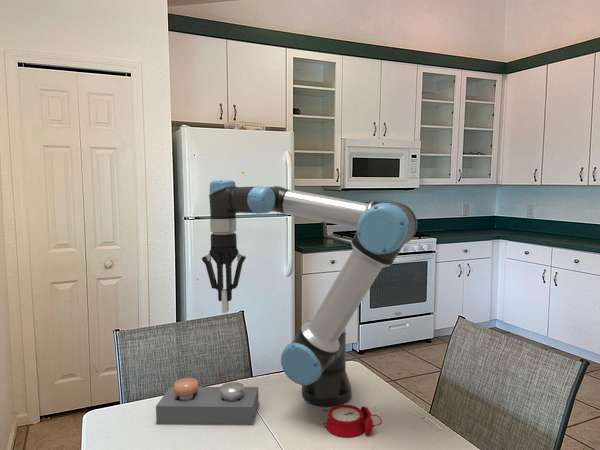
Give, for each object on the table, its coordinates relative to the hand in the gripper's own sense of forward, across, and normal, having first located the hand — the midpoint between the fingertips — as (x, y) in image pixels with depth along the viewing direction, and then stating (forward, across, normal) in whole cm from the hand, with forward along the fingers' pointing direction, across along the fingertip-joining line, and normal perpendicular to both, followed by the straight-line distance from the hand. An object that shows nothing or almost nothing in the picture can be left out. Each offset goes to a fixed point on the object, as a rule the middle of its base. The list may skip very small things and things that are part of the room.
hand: (225, 311), depth 134 cm
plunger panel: (+26, +3, +10) cm, 28 cm away
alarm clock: (+27, -36, +16) cm, 48 cm away
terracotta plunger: (+25, +10, +10) cm, 28 cm away
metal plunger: (+26, -3, +10) cm, 28 cm away
